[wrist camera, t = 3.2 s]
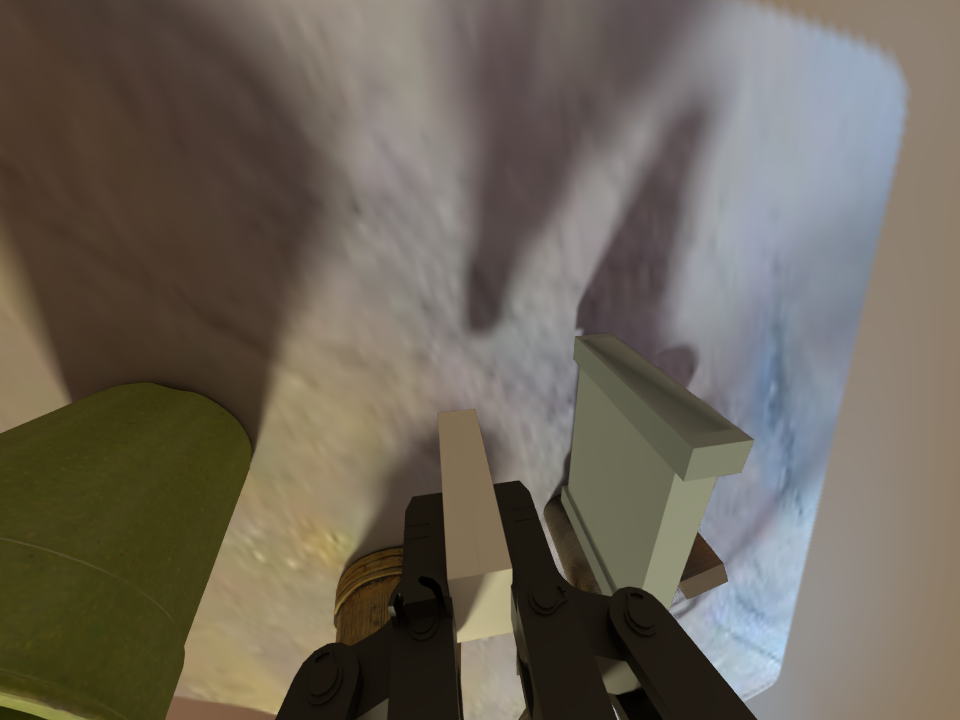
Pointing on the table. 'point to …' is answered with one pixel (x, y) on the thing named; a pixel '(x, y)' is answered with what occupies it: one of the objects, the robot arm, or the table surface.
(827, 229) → the table surface
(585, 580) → the hinge post
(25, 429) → the plant pot
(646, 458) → the grey-green flanged panel
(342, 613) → the wooden mug
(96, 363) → the table surface
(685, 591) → the block
